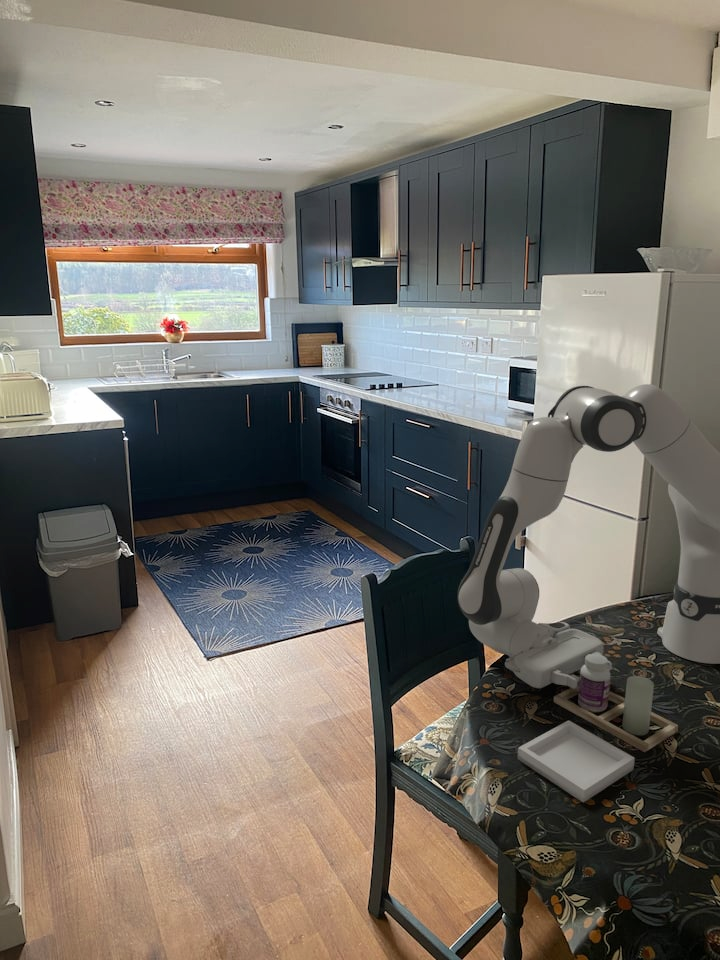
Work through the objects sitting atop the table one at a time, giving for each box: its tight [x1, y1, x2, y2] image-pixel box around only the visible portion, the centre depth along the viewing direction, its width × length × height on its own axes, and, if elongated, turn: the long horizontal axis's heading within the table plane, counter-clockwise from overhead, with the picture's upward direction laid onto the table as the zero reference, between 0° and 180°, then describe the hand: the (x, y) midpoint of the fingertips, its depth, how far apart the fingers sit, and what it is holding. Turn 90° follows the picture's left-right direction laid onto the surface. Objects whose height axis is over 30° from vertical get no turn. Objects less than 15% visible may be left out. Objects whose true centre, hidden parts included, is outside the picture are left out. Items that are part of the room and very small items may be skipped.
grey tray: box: [517, 720, 636, 804], centre depth 116 cm, size 13×13×2 cm
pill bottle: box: [577, 654, 611, 713], centre depth 132 cm, size 5×5×10 cm
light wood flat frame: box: [553, 686, 679, 753], centre depth 130 cm, size 10×19×1 cm, turn 36°
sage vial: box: [621, 675, 655, 736], centre depth 125 cm, size 4×4×9 cm
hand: (594, 675), depth 132 cm, fingers open, 8 cm apart
